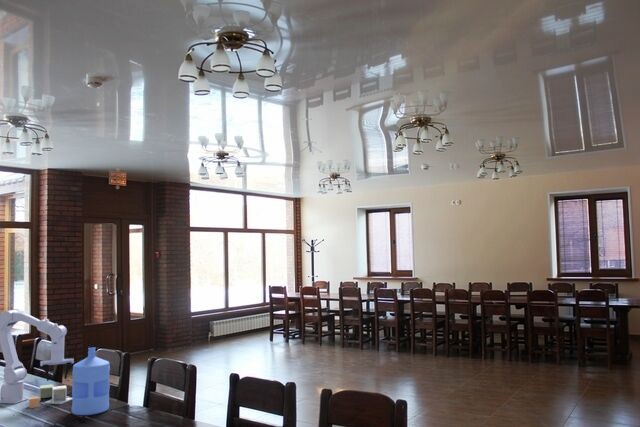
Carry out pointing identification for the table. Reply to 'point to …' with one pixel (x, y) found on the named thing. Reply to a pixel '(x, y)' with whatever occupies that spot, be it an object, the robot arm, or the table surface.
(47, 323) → the robot arm
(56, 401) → the blue-grey mat
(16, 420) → the table surface
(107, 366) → the water jug
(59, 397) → the tan framed cube
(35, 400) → the terracotta cube
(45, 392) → the sage green cube
